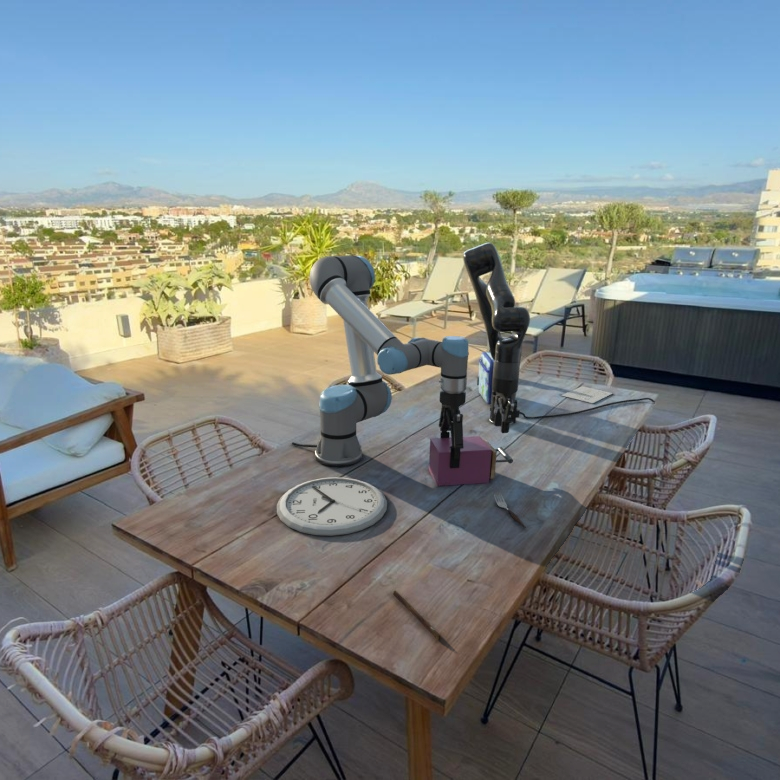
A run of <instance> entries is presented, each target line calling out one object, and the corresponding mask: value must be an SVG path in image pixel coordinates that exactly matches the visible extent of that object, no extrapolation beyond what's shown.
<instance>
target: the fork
mask: <svg viewBox="0 0 780 780" xmlns="http://www.w3.org/2000/svg"><path fill="white" fill-rule="evenodd" d="M497 494H498V495H497ZM493 497H494V499H495V503H496V505H497V506H498V507H499V508H502V509H505V510H507V512H508V514H509V515H510V517H511V518H513V519H514V521H516V522H517V523H518V524H519V525H521V526H522V527H523V528H524V529H526V525H524V523H523V522H522V521H521V520H520V518H519V517H518V516H517V515H516V514H515V513H514V512H513V511H511V509H509V508H508V504H507V502H506V501H505V499H504V497H503V495H502V493H499V492H498V493H495V494H493Z"/></svg>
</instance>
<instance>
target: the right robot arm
mask: <svg viewBox="0 0 780 780" xmlns="http://www.w3.org/2000/svg"><path fill="white" fill-rule="evenodd" d="M462 260H463V264H464V268H465V271H466V273H467V276H468V278H469V281H470V283H471V286H472V290H473V291H474V295H475V298H476V302H477V306H478V310H479V312H480V313H479V314H480V316H481V320H482V322H483V325H484V329H485V332H486V337H487V342H488V343H487V344H488V348H489V349H490V353H491V356H492V358H493V359H494V360H495V362H494V367H493V379H492V398H491V404H490V407H489V411H490V413H489V414H490V415H489V422H490V423H491V424H493V425H494V426H495V427H500V432H501V434H509V432H510V426H511V425H513V424H516V423H517V419H519V418H520V415H521V416H523V418H524V419H526V420H528V419H529V420H531V419H532V420H533V419H534V420H535V419H544V418H546V419H547V418H556V417H564V416H571V415H577V414H581V413H585V412H589V411H593V410H596V409H597V410H598V409H600V408H603V407H608V406H612V405H617V404H623V403H629V402H640V401H645V400H646V401H651V402H652V403H654V402H655V400H654V399H653V398H651V397H642V398H633V399H626V400H620V401H613V402H610V403H606V404H600V405H598V406H594V407H590V408H586V409H582V410H579V411H573V412H567V413H559V414H549V415H539V416H526V413H524V412H522V411H520V409H518V399H517V392H518V390H519V380H520V369H521V368H520V366H521V359H522V354H523V346H522V345H523V343H524V339H525V337H526V334H527V331H528V329H529V327H530V323H531V316H530V315H531V314H530V312H529V310H528V309H527V308H526V307H523V306H516V299H515V296H514V295H513V292H512V290H511V288H510V286H509V284H508V282H507V278H506V274H505V270H504V267H503V263H502V261H501V257H500V254H499V252H498V249H497V248H496V246H495V245H494V243H492V242H485V243H482V244H481V245H478V246H476V247H473V248H470V249H467V250H466V251H464V252H463V255H462ZM489 273H491V274H490V277H489V279H488V282H487V283H485V282H484V281H483V279H481V276H484V275H487V274H489ZM501 333H511V334H510V335H509V336H508V337H506V338H505V337H502V334H501Z"/></svg>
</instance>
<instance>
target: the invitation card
mask: <svg viewBox="0 0 780 780" xmlns="http://www.w3.org/2000/svg"><path fill="white" fill-rule="evenodd" d="M611 395H613V392H611V391H610V392H609V391H605V390H601V389H597V388H592V387H588V386H583V385H582V386H580V387H577V388H575V389H572V390H570V391H568V392H565V393H563V394H561V395H560V396H561V397H565V398H570V399H573V400H577V401H581V402H585V403H589V404H594V403H597V402H599V401H602V400H603V399H605V398H607V397H609V396H611Z"/></svg>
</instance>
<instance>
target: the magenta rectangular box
mask: <svg viewBox="0 0 780 780" xmlns="http://www.w3.org/2000/svg"><path fill="white" fill-rule="evenodd" d="M484 440H485V439H483V438H482V437H481V436H480V435H475V436H463V446H464V447H463V449H460V464H459V468H450V453H451V449H450V446H452V441H451V437H449V438H440V437H435V438H429V457H428V458H429V461H428V471H429V473H430V476H431V477H432V479H433V481H434V483H435V484H436V486H437V487H443V486H457V485H459V486H460V485H473V484H474V485H476V484H489V483H490V477H489V476H490V464H491V451H492V450H491V448H490V447H489V446H488V445H487V444H486V443H485V441H484Z"/></svg>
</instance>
